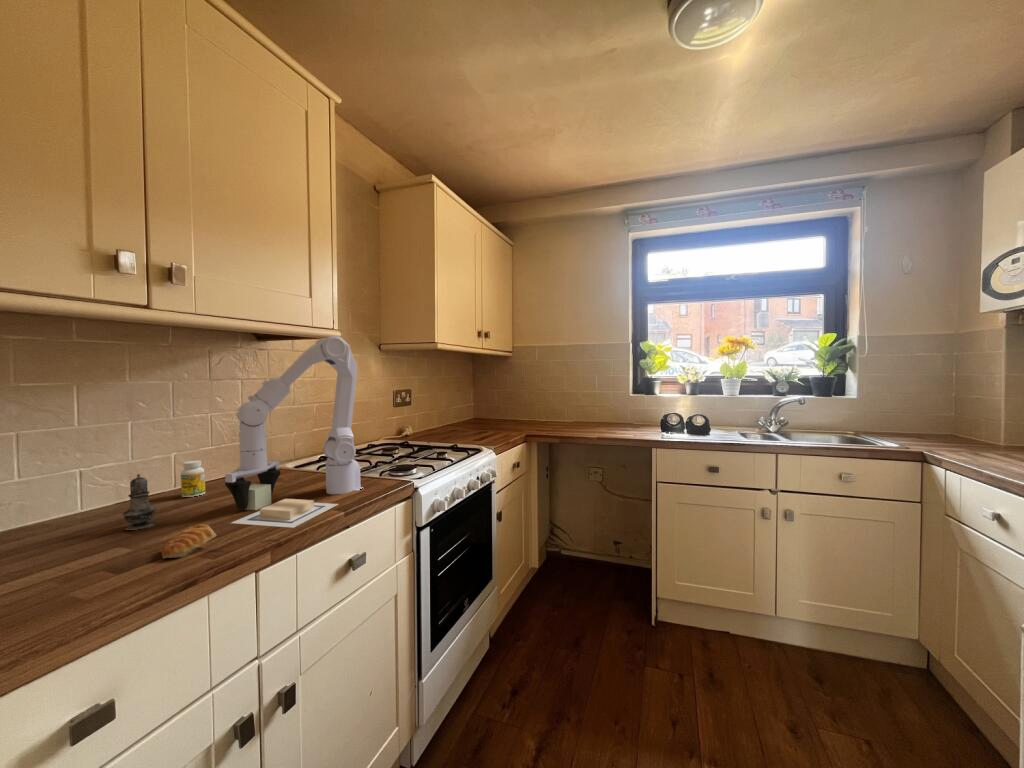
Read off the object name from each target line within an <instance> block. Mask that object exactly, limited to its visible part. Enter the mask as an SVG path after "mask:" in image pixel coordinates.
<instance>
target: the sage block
mask: <svg viewBox="0 0 1024 768" xmlns="http://www.w3.org/2000/svg"><path fill="white" fill-rule="evenodd" d="M271 504H272V497H271V484H260V483H252V484H250V487H249V491H248V505H247V509H243V510H246V511H257V510H260V509H261V508H264V507H266V506H269V505H271Z"/></svg>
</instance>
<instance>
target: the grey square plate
mask: <svg viewBox="0 0 1024 768" xmlns="http://www.w3.org/2000/svg"><path fill="white" fill-rule="evenodd" d="M338 505H339V503H329V502H328V503H325V502H314V509H312V510H310V511H308V512H306V513H304V514H301V515H299V516H297V517H295V518H293V519H291V520H285V519H271V518H260V510H258V511H256V512H254V513H251V514H249V515H246V516H244V517H241V518H239V519H237V520H234V521H231V522H230V524H237V525H239V524H240V525H250V526H265V527H275V528H276V527H277V528H278V527H279V528H290V529H291V528H293V529H294V528H295V527H298V526H299V525H301V524H303V523H305V522H307V521H309V520H312V519H313V518H316V517H317V516H319V515H321V514H322V513H324V512H326V511H328V510H330V509H332V508H334V507H336V506H338Z"/></svg>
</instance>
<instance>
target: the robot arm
mask: <svg viewBox="0 0 1024 768" xmlns="http://www.w3.org/2000/svg"><path fill="white" fill-rule="evenodd" d="M323 362H326V363H327V364H329V365H330V366H331V367H332V369H334V370H335V371H336V372H337V373H336V374H337V376H336V386H335V393H334V395H335V396H334V403H333V404H334V405H333V410H332V411H333V413H332V420H331V422H332V423H331V428H330V429H329V432H328V435H327V439H326V441H325V442H324V444H323V450H322V451H323V454H324V455H325V457H327V458H326V461H325V486H326V487H325V489H326V494H329V495H342V494H343V495H344V494H348V493H350V492H354V491H359V490H360V489H362V488H363V489H364V487H363V486H362V485H361V481H362V480H361V466H360V464H359V462H358V461H357V460H355V459H354V458H355V457H356V452H357V449H356V446H355V443H354V439H355V436H354V433H353V431H352V426H353V415H354V405H355V396H356V388H357V387H356V386H357V378H358V370H359V369H358V365H357V362H356V359H355V358H354V355H353V353H352V351H351V345H350V344H349V343H347V342H346V340H344V339H343V338H342V337H340V336H337V335H331V336H328V337H323V338H319V339H318V340H317V341H316V342H315V343H314V344H312V345H311V346H309V347H307V349H306V350H304V351H303V353H301V355H299V356H298V357H297V358H296V360H294V362H292V364H291V365H290V366H289V367H287V369H286V370H285V371H284V372H283V373H282V374H281V375H280V376H279V377H271V378H270V379H268V380H267V379H265V380H264V381H263V382H261V384H262V386H261V387H260V388H259V389H258V390H257V391H256V392H255V393H254V394H253V395H249V396H248V397H247V399H248V400H249V401H245V402H244V403H242V404H241V405H240V406H239V408H238V410H237V412H236V417H237V418H236V419H238V420H239V421H240V422H239V425H238V426H239V432H238V439H239V441H238V443H239V446H238V447H239V466H238V467H237V469H235V470H233V471H230V472H228V473H225V474H224V476H225V477H224V478H225V481H224V485H225V486H226V488H227V489H228V491H229V492H230V493H231V495H232V497H233V500H234V503H235V505H236V508H237V509H238V510H244V509H247V505H248V491H249V487H250V485H252V484H251V483H252V481H251V480H246V478H249V477H253V476H256V475H257V477H258V481H259V484H271V498H272V497H273V493H274V489H275V485H276V483H277V481H278V478H279V477H280V476H281V470H280V461H278V460H272V461H268V452H267V451H268V449H267V430H266V421H267V420H268V417H269V412H272V411H274V410H275V409H276V407H277V406H279V405H280V403H282V401H283V400H284V399H286V398H287V396H289V394H290V393H291V385H292V384H293V383H294V382H295V381H296V380H298V379H300V378H299V377H301V376H302V375H303V374H304V373H305V372H307V370H309V369H310V368H311V367H312V366H313V365H315V364H318V363H323ZM363 489H362V490H363ZM360 491H361V490H360Z"/></svg>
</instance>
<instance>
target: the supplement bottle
mask: <svg viewBox="0 0 1024 768" xmlns="http://www.w3.org/2000/svg"><path fill="white" fill-rule="evenodd" d="M182 463H183V464H182V467H183V468H184V469H183V470H181V471H180V488H181V489H180V490H181V493H180V494H181V497H182V498H183V497H193V498H195V497H194V496H198V497H200V496H199V495H202V496H204V495H205V494H206V478H205V476H206V474H205V469H204V468H203V467H202V460H189V461H185V462H182ZM203 494H204V495H203Z"/></svg>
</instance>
